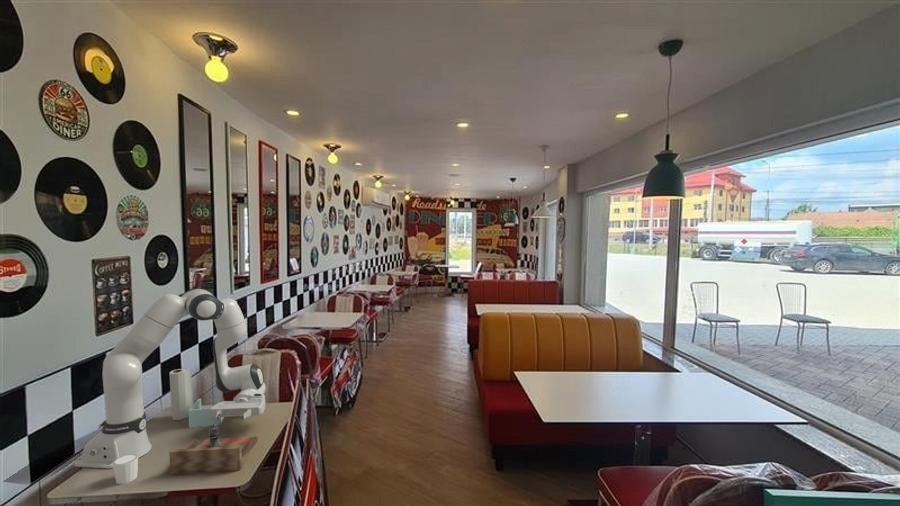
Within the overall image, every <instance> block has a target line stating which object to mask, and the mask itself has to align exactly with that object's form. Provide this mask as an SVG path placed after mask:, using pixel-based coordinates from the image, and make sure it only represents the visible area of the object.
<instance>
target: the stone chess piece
mask: <svg viewBox="0 0 900 506" xmlns="http://www.w3.org/2000/svg"><path fill="white" fill-rule="evenodd" d="M219 430H220V429H219V426H218V425H215V424H213V425H210V427H209V435H208V438H209V439H210V444H208V445H207V446H206V448H212V447H223V445H224V442H222V441H220V440H219V439H220V436H221V433H220V431H219Z"/></svg>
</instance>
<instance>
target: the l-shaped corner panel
mask: <svg viewBox="0 0 900 506" xmlns="http://www.w3.org/2000/svg"><path fill="white" fill-rule="evenodd" d="M210 409H211V407H203V408H202V398H198V399H197V400H196V401H195V402H194V403H193V406H192V407H191V408H190V410H189V411H188V413H189V417H188V425H189V426H188V427H193V428H199V427H198V426H202V427H208V426H207V425H210V426H213V424H219V425H221V424H222V422H221V419H220V420H216V417H211V416H210Z"/></svg>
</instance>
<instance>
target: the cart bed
mask: <svg viewBox="0 0 900 506" xmlns="http://www.w3.org/2000/svg"><path fill="white" fill-rule="evenodd" d="M219 440H220V441H222V442H224V445H223V447H212V448H206V446H207V445H208V444H210V438H209V439H204V441H203V442H202V443H201V444H199V441H198V439H194V440H193V441H192V442H191V443H190V444H189V445H188V446H187V447H186V448H182V449H180V448H178V449H171V450H170V451H169V468H170V475H182V474H184V475H185V474H197V473H198V474H199V473H213V472H214V473H215V472H217V473H218V472H231V471H233V472H234V471H241V470H242V469H243V467H244V466H245V464H246V462H247V461H248V460H249V459H250V457H251V456H252V454H253V452H254V451H255V450H256V449H257V447H258V440H259V436H245V437H243V436H242V437H231V438H229V437H228V438H225V437H224V438H219Z"/></svg>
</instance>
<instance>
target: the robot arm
mask: <svg viewBox="0 0 900 506" xmlns="http://www.w3.org/2000/svg"><path fill="white" fill-rule="evenodd" d="M186 316H190V317H192V318H193V319H195V320H198V321H211V320H213V322H214V325H215V329H216V337H214V339H213V340H212V355H213V362H214V369H215V371H214V372H215V386H216V388H217V390H219V391H221V392H222V393H229V392H232V391H236V390H241V391H240V392H238V393H237V395H236V396H234V397H233V400H224V401H223V400H222V401H220V402H217V403H215V404H214V405H213V406H212V407H210V408H211V409H210V416H211V417H216V420H220V419H221V417H225V418H226V417H240V420H245V419H246V418H248V417H251V416H260V415H263V413H264V411H265V409H266V396H265V393H266V384H265V382H264V381H265V378H264V377H265V376H264V372H263V370H262V368H261V367H260V366H259V365H258V364H255V363H251V364H250V363H249V364H244V365H241V366H235V367H229V365H228V364H229V363H228V357H227V351H228V349H230V348H231V347H232V346H235V344H237V343H238V342H240V341H241V340H242V339H243V338H244V337H245V336H246V333H247V329H248V328H247V323H246V321H245V317H244V314H243V312H242V310H241V307H240V306H239V304H238V302H237V301H236V300H235V299H234V298H229V297H228V298H227V297H226V298H222V299H219V298H217V297H216V296H214V294H213V293H211V292H210V291H208V290H207V289H203V288H199V287H198V288H197V287H196V288H191V289H188V290H187V291H185V292H183V293H180V294H179V295H177V294H173V293H166V294H164V295H162V296H161V297H159V298H158V299H157V300H155V302H154V303H153V304H152V305H151V306H150V307H149V308H148V309H147V310H146V311H145V313H144V314H143V315H142V316H141V318H140V319H139V320H138V321H137V322H136V323H135V325H134V326H133V327H132V328H131V330H130V331H129V332H128V333H127V334H126V335H124V337H123V338H122V339H121V340H120V341H119V342H118V343H117V344H116V346H114V347H113V349H112V350H111V351H110V352H109V353H108V354H107V355H106V356H105V357H104V360H103V363H102V385H103V395H104V406H105V408H104V409H105V420H104V421H102V423H100V424H99V425H98V429H101V431H99V432H98V433H97V434H96V435H95V436H93V437H92V438H91V439H90V440H88V441H87V442H86V443H85V444H84V446H83V450H82V454H81V455H80V456H79V457H77V459H76V460H75V461H74V466H73V467H79V468H81V467H82V468H97V469H113V464H112V463H113V461H114V460H116V459H117V458H119V457H121V456H124V455H128V454H137V455H138V459H139V458H141V457H144V456H145V455H146V454H147V453H149V452H150V451H151V449H152V447H153V445H152V444H151V442H150V439H149V437H148V433H147V415H146V414H147V413H146V411H145V408H144V407H145V406H144V394H143V393H144V391H143V388H144V387H143V384H144V383H143V367H142V364H143V363H144V361H145V360H146V359H147V358H148V357H149V356H150V355H151V354H152V353H153V352H154V350H156V349H157V348H159V346H160V345H161V344H162V343H163V342H164V340H165V339H166V338H167V337H168V335H169V334H170V333H171V332H172V330H173V329H174V328H175V326H176V325H177V323H179V321H181V320H182V319H183V318H184V317H186Z"/></svg>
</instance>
